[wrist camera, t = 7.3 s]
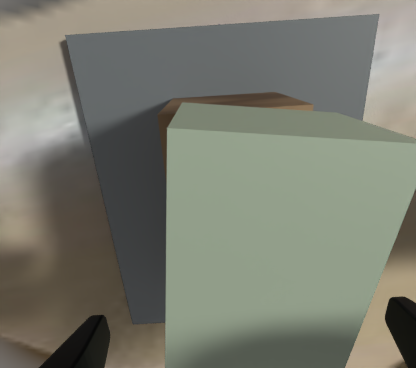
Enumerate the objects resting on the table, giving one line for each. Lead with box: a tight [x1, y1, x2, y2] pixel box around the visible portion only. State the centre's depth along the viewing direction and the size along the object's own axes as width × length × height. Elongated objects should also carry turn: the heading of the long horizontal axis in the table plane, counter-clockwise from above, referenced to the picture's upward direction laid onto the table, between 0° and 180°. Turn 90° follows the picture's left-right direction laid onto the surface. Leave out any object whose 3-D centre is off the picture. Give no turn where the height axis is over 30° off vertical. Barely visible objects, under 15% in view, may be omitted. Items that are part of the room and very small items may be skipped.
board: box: [65, 14, 379, 324], centre depth 16 cm, size 14×18×1 cm
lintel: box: [165, 102, 416, 368], centre depth 9 cm, size 5×12×4 cm, turn 176°
